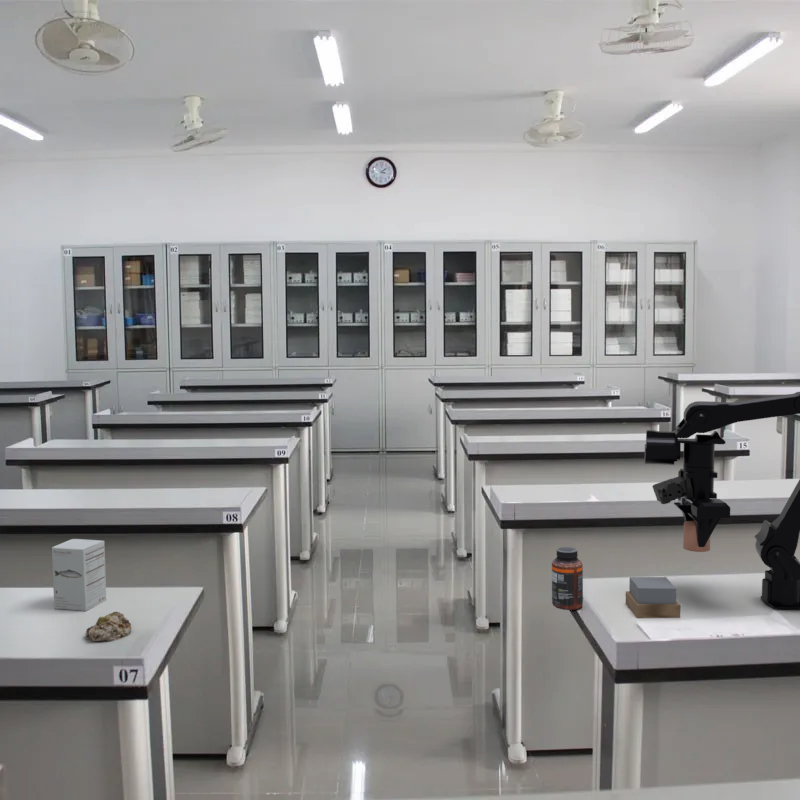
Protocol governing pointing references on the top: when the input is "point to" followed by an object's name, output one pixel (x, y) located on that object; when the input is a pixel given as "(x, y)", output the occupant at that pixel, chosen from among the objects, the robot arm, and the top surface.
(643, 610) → the tower base
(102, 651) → the top surface
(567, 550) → the supplement bottle
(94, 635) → the mineral rock
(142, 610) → the top surface
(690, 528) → the brick cylinder
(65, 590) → the supplement box
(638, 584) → the tower top
